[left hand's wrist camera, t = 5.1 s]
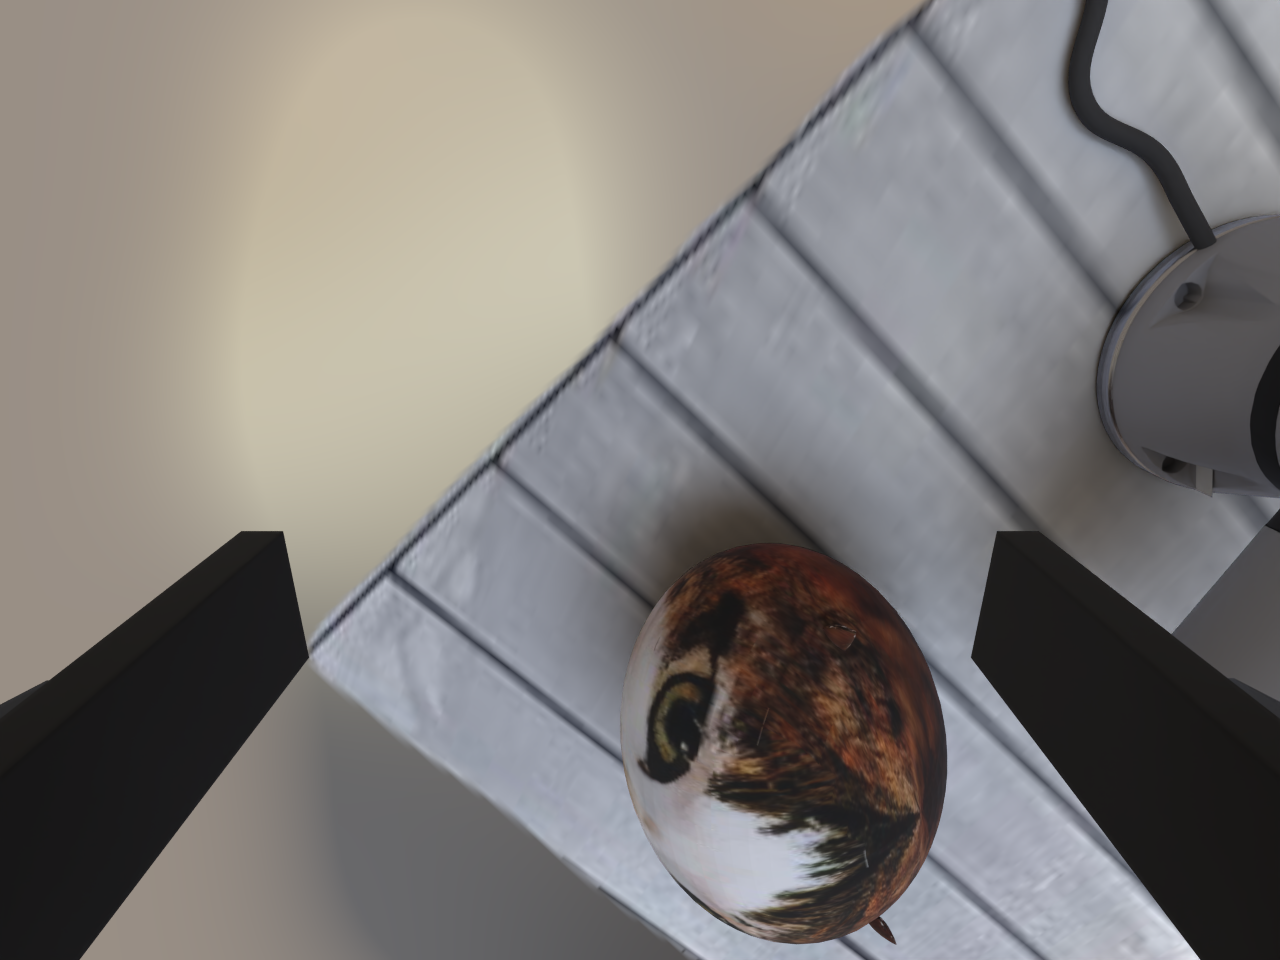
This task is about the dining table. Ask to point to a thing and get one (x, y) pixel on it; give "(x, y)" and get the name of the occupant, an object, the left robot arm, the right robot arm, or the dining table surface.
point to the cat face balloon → (783, 744)
